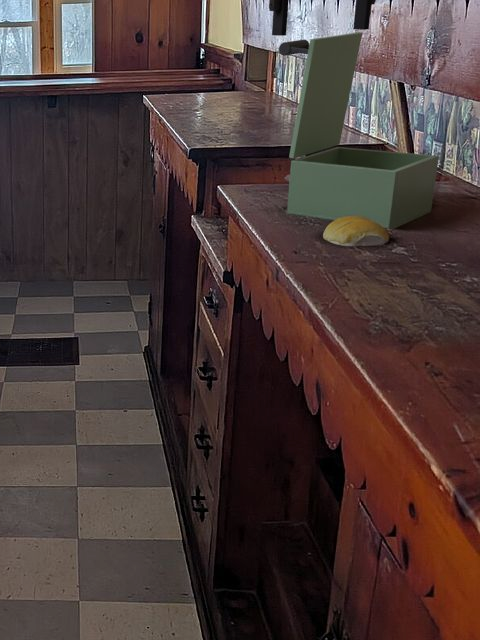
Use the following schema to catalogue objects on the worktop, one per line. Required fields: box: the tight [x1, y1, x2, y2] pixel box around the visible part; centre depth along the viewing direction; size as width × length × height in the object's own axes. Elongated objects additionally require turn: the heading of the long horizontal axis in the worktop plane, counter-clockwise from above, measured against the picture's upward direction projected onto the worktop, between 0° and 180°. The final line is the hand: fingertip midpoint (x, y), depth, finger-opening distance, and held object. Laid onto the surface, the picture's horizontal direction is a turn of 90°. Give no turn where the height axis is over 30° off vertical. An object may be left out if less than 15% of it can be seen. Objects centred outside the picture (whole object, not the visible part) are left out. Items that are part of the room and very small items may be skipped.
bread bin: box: [286, 146, 440, 230], centre depth 137 cm, size 17×15×9 cm
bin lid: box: [278, 31, 363, 159], centre depth 140 cm, size 18×15×8 cm
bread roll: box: [322, 216, 390, 247], centre depth 123 cm, size 8×9×4 cm
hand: (320, 32), depth 128 cm, fingers open, 13 cm apart
